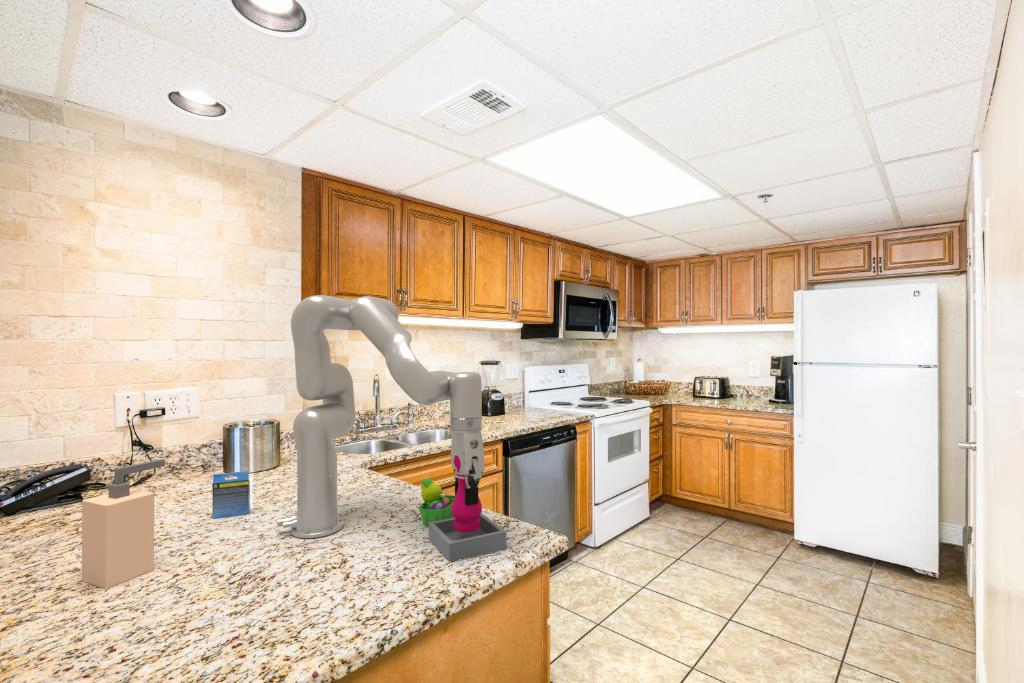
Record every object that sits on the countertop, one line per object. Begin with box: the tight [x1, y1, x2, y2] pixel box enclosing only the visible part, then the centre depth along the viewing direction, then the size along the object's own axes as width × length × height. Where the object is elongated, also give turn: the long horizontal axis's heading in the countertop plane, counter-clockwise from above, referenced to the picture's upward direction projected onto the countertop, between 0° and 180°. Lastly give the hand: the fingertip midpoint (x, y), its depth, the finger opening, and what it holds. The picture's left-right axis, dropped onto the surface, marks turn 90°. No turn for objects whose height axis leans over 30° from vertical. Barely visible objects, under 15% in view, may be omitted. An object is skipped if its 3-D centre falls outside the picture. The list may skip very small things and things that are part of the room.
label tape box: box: [211, 470, 251, 520], centre depth 131 cm, size 9×4×12 cm, turn 115°
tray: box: [428, 512, 507, 563], centre depth 110 cm, size 14×14×4 cm
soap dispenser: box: [81, 458, 166, 590], centre depth 98 cm, size 13×9×22 cm
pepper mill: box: [451, 455, 483, 533], centre depth 111 cm, size 7×7×20 cm
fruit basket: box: [418, 477, 455, 527], centre depth 126 cm, size 11×9×11 cm
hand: (466, 499), depth 111 cm, fingers closed on pepper mill, 5 cm apart
